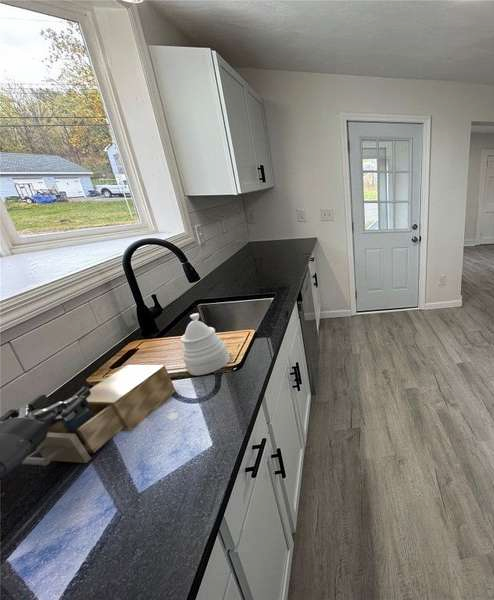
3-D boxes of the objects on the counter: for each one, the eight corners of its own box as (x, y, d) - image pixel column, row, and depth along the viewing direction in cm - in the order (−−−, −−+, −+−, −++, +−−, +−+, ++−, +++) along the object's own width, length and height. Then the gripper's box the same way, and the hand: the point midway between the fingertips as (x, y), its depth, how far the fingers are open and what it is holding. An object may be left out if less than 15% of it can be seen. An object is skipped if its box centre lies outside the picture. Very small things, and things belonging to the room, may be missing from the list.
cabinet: (130, 431, 81) (113, 402, 77) (88, 429, 83) (71, 401, 79) (176, 391, 95) (164, 365, 92) (140, 390, 97) (127, 364, 93)
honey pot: (197, 356, 113) (179, 312, 106) (234, 350, 115) (219, 306, 108) (181, 378, 101) (160, 329, 94) (222, 371, 103) (205, 323, 96)
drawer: (64, 481, 68) (45, 455, 65) (21, 478, 69) (1, 452, 66) (141, 416, 85) (129, 393, 82) (105, 414, 87) (92, 392, 83)
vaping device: (73, 445, 75) (48, 407, 71) (97, 428, 80) (74, 391, 75) (81, 447, 75) (56, 408, 70) (105, 430, 79) (82, 392, 75)
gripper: (-30, 472, 59) (39, 412, 74) (58, 454, 62) (108, 399, 76) (-57, 443, 56) (21, 387, 71) (37, 425, 59) (94, 374, 73)
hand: (66, 393), depth 73 cm, fingers open, 8 cm apart
